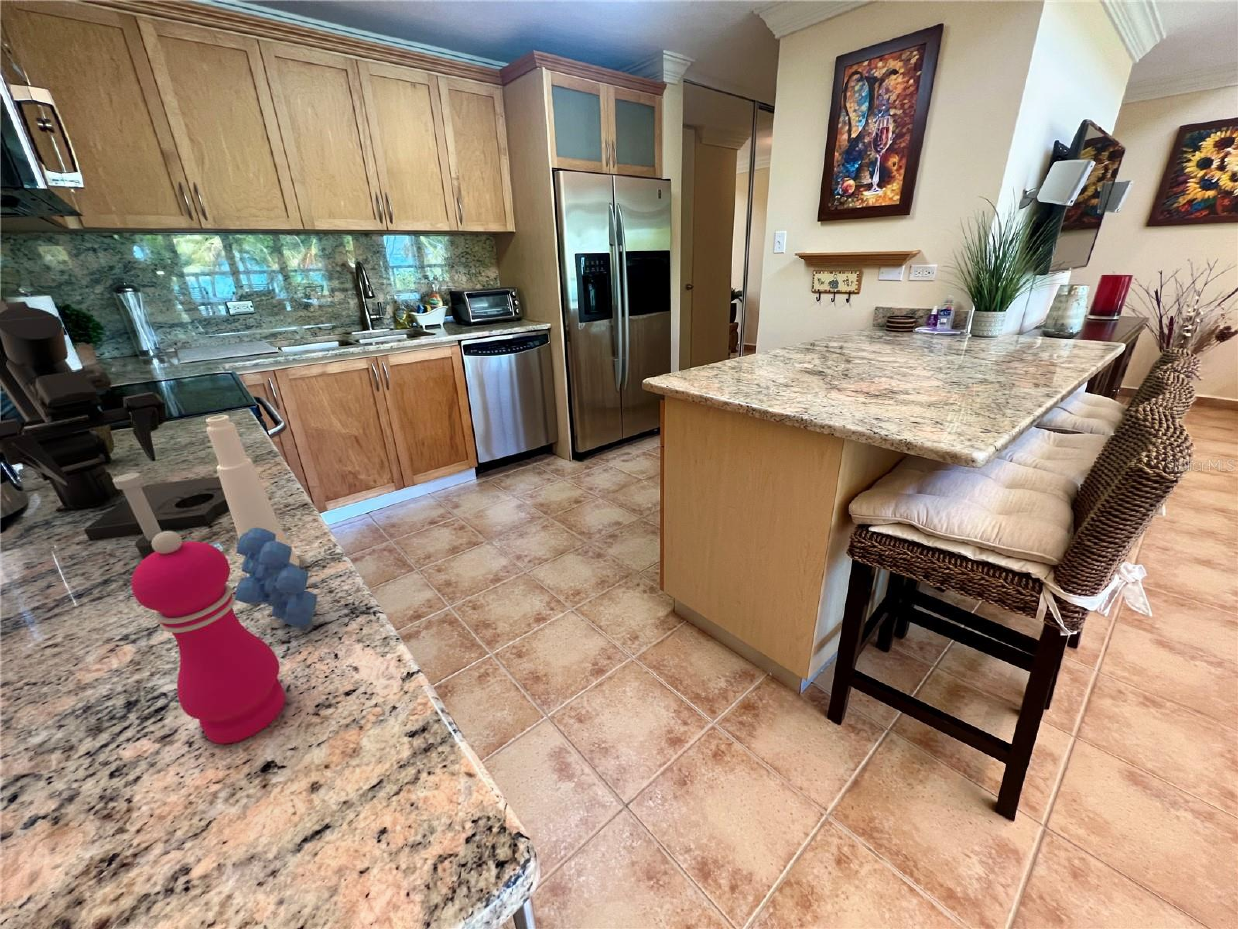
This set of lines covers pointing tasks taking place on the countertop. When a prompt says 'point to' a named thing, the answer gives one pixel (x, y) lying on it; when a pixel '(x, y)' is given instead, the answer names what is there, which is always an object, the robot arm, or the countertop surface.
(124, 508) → the plate
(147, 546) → the stopper
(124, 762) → the countertop surface
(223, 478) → the cosmetic bottle
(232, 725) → the pepper mill
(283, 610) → the grapes
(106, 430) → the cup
